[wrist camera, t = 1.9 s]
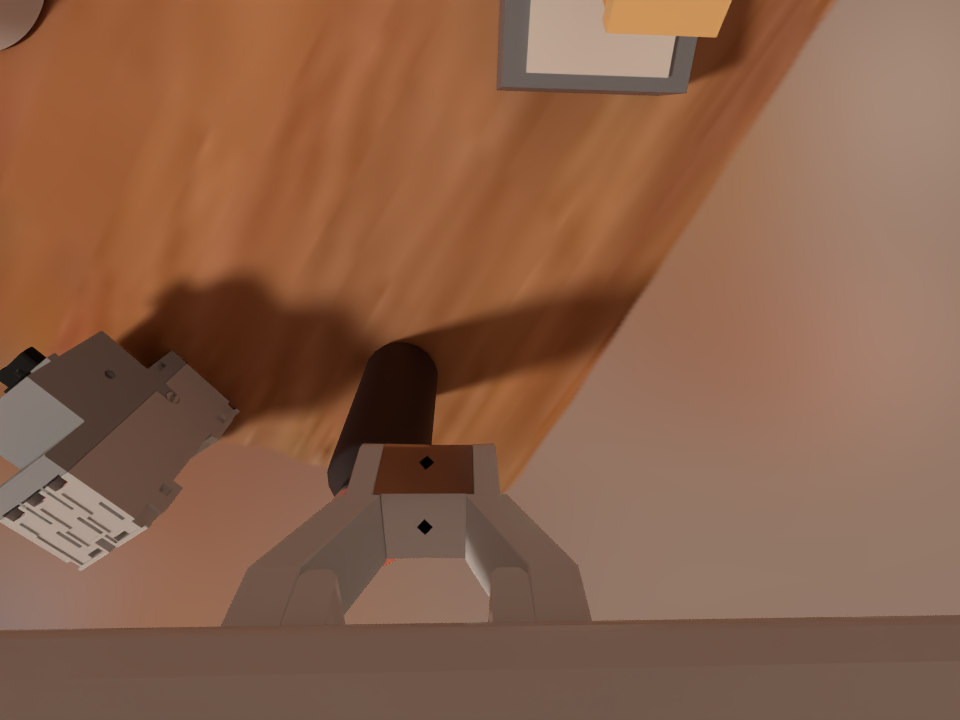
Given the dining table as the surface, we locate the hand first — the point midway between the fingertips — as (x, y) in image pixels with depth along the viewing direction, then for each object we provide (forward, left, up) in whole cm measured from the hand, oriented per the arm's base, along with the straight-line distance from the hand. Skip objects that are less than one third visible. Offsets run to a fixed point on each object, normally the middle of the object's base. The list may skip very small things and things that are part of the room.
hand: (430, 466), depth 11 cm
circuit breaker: (-2, -32, -31) cm, 45 cm away
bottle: (+10, -12, -31) cm, 35 cm away
